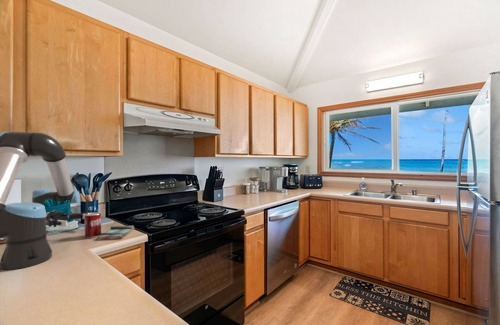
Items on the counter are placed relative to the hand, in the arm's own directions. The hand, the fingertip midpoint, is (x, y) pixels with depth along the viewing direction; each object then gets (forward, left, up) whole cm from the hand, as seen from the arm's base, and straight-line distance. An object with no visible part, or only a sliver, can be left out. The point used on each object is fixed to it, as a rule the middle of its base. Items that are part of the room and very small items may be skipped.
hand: (79, 220), depth 126 cm
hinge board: (+20, -2, -8) cm, 21 cm away
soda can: (+9, -4, -8) cm, 13 cm away
